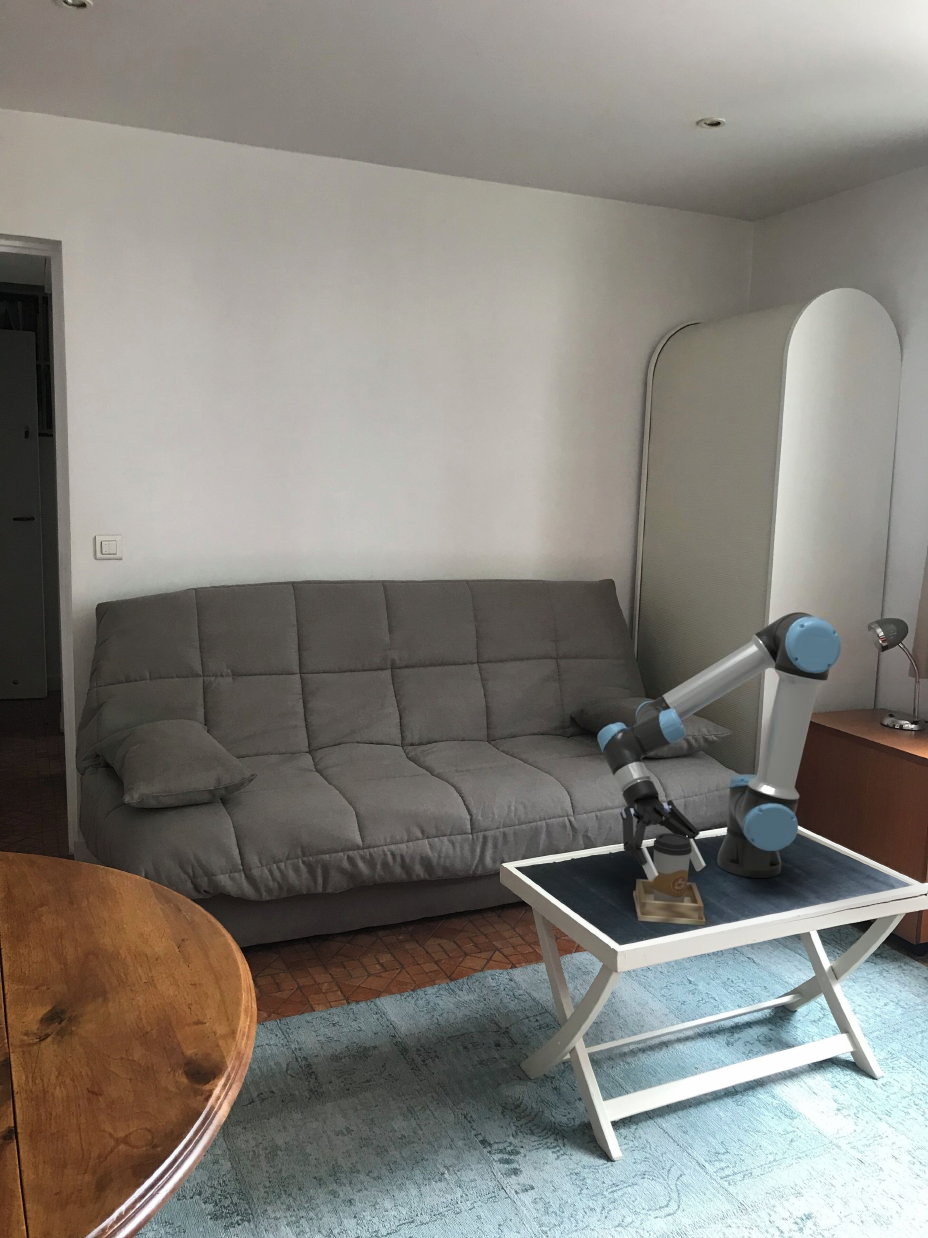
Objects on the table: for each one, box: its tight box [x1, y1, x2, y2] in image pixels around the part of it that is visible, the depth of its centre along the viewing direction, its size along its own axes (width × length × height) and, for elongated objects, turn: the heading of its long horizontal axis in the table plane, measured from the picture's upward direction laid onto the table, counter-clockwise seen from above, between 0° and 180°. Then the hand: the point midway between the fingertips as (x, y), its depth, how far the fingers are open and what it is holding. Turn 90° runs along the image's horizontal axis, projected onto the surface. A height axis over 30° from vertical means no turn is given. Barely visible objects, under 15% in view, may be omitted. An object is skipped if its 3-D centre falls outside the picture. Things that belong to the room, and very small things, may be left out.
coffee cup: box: [652, 832, 692, 903], centre depth 217 cm, size 8×8×15 cm
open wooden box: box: [632, 878, 706, 926], centre depth 218 cm, size 14×14×4 cm
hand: (677, 873), depth 215 cm, fingers open, 13 cm apart
